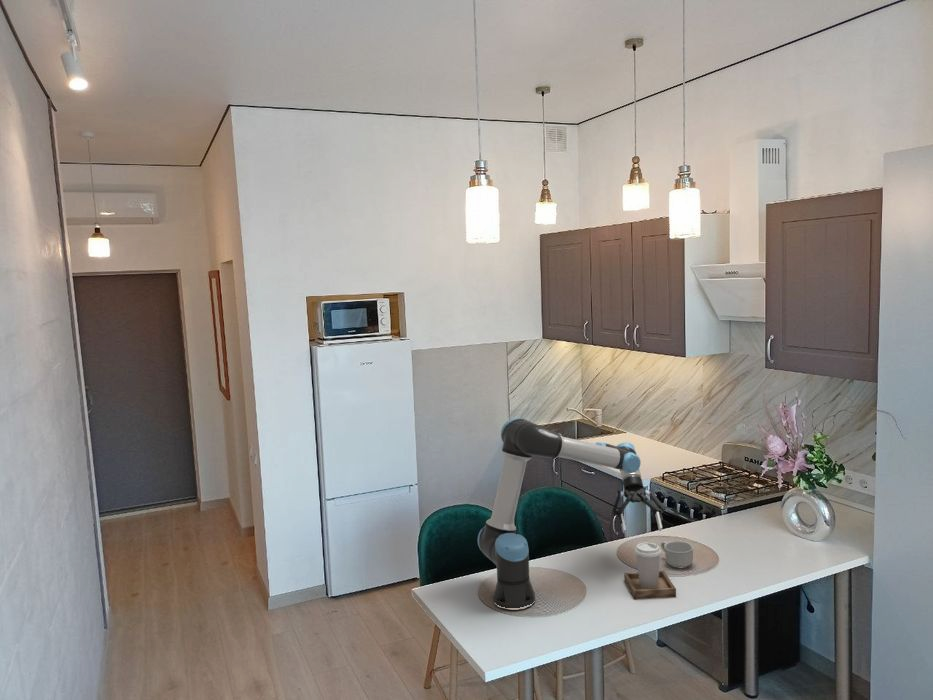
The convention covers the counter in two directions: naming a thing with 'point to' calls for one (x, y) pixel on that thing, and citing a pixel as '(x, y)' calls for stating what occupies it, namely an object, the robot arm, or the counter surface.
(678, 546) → the teacup
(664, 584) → the walnut tray
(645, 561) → the coffee cup
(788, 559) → the counter surface
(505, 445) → the robot arm
